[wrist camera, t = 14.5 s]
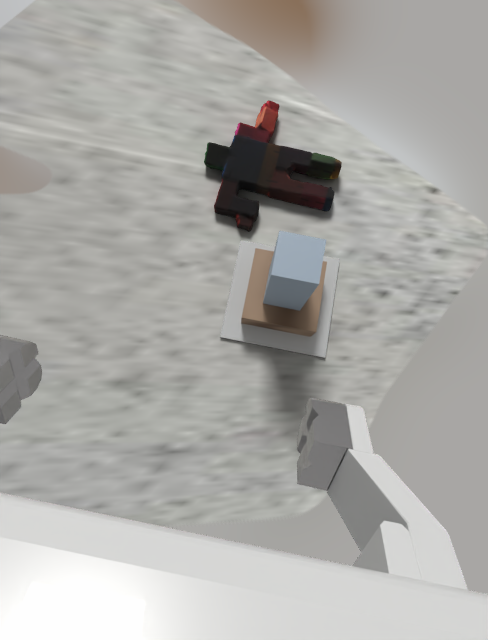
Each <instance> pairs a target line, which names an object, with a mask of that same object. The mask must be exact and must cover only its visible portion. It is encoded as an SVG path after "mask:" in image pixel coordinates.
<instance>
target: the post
mask: <svg viewBox="0 0 488 640" xmlns="http://www.w3.org/2000/svg"><path fill="white" fill-rule="evenodd" d="M325 244H326V240H325V239H320V238H315V237H309V236H304V235H299V234H294V233H289V232H284V231H279V235H278V239H277V242H276V246H275V250H274V254H273V257H272V261H271V265H270V269H269V274H268V279H267V284H266V290H265V295H264V300H263V304H268V305H273V306H279V307H284V308H289V309H294V310H299V311H300V310H301V308H302V307H303V306H304V304H305V303H306V302H307V300H308V299H309V297H310V296H311V295H312V293H313V292H314V291H315V289H316V288H317V286H318V285H319V282H320V276H321V269H322V263H323V257H324V251H325Z"/></svg>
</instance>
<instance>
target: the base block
mask: <svg viewBox="0 0 488 640" xmlns="http://www.w3.org/2000/svg"><path fill="white" fill-rule="evenodd" d="M273 254H274V251H269V250H263V249H258V248H255V253H254V258H253V263H252V268H251V273H250V278H249V283H248V288H247V293H246V298H245V303H244V308H243V313H242V318H241V323H242V324H247V325H252V326H258V327H263V328H268V329H273V330H278V331H283V332H288V333H293V334H298V335H303V336H308V337H311V336H312V335H313V334H315V333H316V331H317V324H318V318H319V311H320V305H321V298H322V292H323V285H324V279H325V272H326V266H327V262H326V261H323V263H322V269H321V276H320V282H319V285H318V286H317V288H316V289H315V291H314V292H313V293H312V295H311V296H310V297H309V299H308V300H307V302H306V303H305V304H304V306H303V307H302V308H301V310H300V311H299V310H294V309H289V308H284V307H279V306H273V305H268V304H263V300H264V295H265V290H266V284H267V279H268V274H269V269H270V265H271V261H272V257H273Z"/></svg>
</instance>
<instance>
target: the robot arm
mask: <svg viewBox="0 0 488 640" xmlns="http://www.w3.org/2000/svg"><path fill="white" fill-rule="evenodd" d="M37 355H38V349H37V345H36V344H35V343H33V342H30V341H25V340H21V339H16V338H12V337H8V336H3V335H0V423H2V424H6V423H7V422H8V421H9V420H10V419H11V418H12V417H13V415H14V414H15V413H16V412H17V411H18V410H19V409H20V408H21V400H22V399H25V398H27V397H29V396H31V395H32V394H33V393H34V392H35V390H36V389H37V388H38V385H39V383H40V381H41V377H42V369H41V365H40V364H39V362H38V361H37V360H36V359H35V357H36V356H37ZM297 450H298V451H299V453H300V456H299V459H298V462H297V484H300V485H305V486H309V487H313V488H317V489H322V490H326V491H327V493H328V495H329V496H330V498H331V500H332V502H333V503H334V505H335V507H336V509H337V510H338V512H339V514H340V516H341V518H342V519H343V521H344V523H345V525H346V526H347V528H348V530H349V532H350V533H351V535H352V537H353V539H354V540H355V542H356V544H357V546H358V548H359V549H360V551H361V554H360V555H359V557H358V558H357V560H356V561H355V562H354V564H353V565H352V566H351V565H346V564H341V563H336V562H331V561H327V560H322V559H317V558H312V557H307V556H302V555H298V554H293V553H288V552H283V551H279V550H273V549H269V548H264V547H259V546H255V545H249V544H245V543H240V542H235V541H230V540H226V539H221V538H216V537H211V536H207V535H202V534H197V533H192V532H187V531H183V530H178V529H173V528H168V527H163V526H158V525H154V524H149V523H144V522H139V521H134V520H130V519H125V518H120V517H115V516H110V515H106V514H101V513H96V512H91V511H86V510H81V509H77V508H72V507H67V506H62V505H57V504H53V503H48V502H43V501H38V500H33V499H29V498H24V497H19V496H14V495H9V494H5V493H0V640H488V594H484V593H480V592H475V591H471V590H468V589H467V586H466V583H465V580H464V577H463V574H462V571H461V569H460V566H459V563H458V560H457V557H456V554H455V551H454V549H453V546H452V543H451V540H450V537H449V534H448V532H447V531H446V530H445V529H444V528H443V527H442V525H441V524H440V523H439V522H438V521H437V520H436V519H435V517H434V516H433V515H432V514H431V513H430V512H429V511H428V510H427V508H426V507H425V506H424V505H423V504H422V503H421V502H420V500H419V499H418V498H417V497H416V496H415V495H414V494H413V493H412V491H411V490H410V489H409V488H408V487H407V486H406V485H405V484H404V483H403V481H402V480H401V479H400V478H399V477H398V476H397V475H396V473H395V472H394V471H393V470H392V469H391V468H390V467H389V465H388V464H387V463H386V462H385V461H384V460H383V459H382V458H381V456H380V455H376V454H374V452H373V448H372V443H371V439H370V434H369V430H368V426H367V421H366V417H365V413H364V409H363V408H362V407H360V406H354V405H349V404H342V403H337V402H332V401H326V400H321V399H316V398H311V397H310V398H309V400H308V402H307V405H306V415H305V416H304V417H302V419H301V422H300V426H299V431H298V437H297Z"/></svg>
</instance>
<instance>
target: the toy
mask: <svg viewBox="0 0 488 640" xmlns="http://www.w3.org/2000/svg"><path fill="white" fill-rule="evenodd" d="M278 110H279V104H276V103H275V102H272V101H267V102H266V103H265V104H264V105H263V106H262V107H261V111H260V113H259V115H258V117H257V120H256V125H255V127H253V126H250V125H247V124H243V123H239V124H238V127H237V130H236V131H235V136H234V139H233V142H232V144H231V146H230V147H226V146H222V145H218V144H215V143H210V142H209V143H208V144H207V151H206V153H205V161H204V163H205V165H206V166H207V167H209V168H213V169H219V170H223V174H222V183H221V186H220V189H219V192H218V196H217V199H216V202H215V205H214V208H215V212H216V213H218V214H221V215H226V216H230V217H234V218H236V222H237V227H238V228H241V229H244V230H247V231H248V232H250V231H251V229H252V227H253V223H254V222H255V220H256V218H257V215H258V212H259V202H258V201H252V200H248V199H244V198H239V197H237V194H238V192H239V190H240V189H243V190H248V191H252V192H256V193H259V194H264V195H267V196H269V197H270V198H274V199H278V200H283V201H286V202H290V203H295V204H299V205H303V206H308V207H311V208H317V209H321V210H324V211H329V209H330V207H331V204H332V201H333V197H334V191H333V190H332V188H331V187H330V188H328V187H324V186H322V185H317V184H312V183H308V182H304V183H303V182H300V181H297V180H292V179H290V178H289V177H290V175H291V173H292V171H295V172H298V173H301V174H307V175H308V176H314V177H316V178H323V179H336V178H338V176H339V172H340V169H341V162H340V161H339V160H337V159H335V158H333V157H330V156H325V155H321V154H318V153H311V152H307V151H303V150H299V149H294V148H290V147H285V146H279V145H275V144H270V143H269V140H270V138H271V136H272V134H273V132H274V128H275V123H276V120H277V118H278Z"/></svg>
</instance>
